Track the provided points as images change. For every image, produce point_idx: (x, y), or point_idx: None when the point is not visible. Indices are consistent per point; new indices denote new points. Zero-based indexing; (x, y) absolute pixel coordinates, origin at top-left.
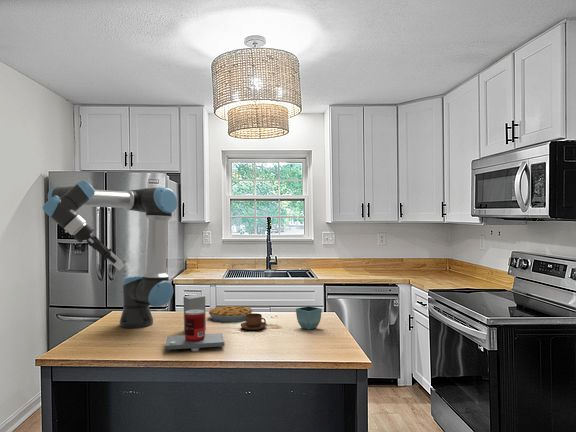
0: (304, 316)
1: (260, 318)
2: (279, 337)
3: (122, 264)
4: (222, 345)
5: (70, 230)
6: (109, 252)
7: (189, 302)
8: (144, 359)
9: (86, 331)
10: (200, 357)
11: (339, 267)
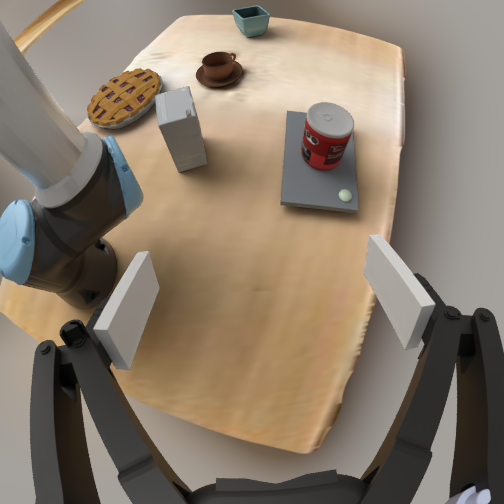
0: (261, 22)
1: (228, 56)
2: (292, 61)
3: (385, 244)
4: None
5: None
6: (486, 311)
7: (197, 119)
8: None
9: None
10: (383, 166)
11: None
